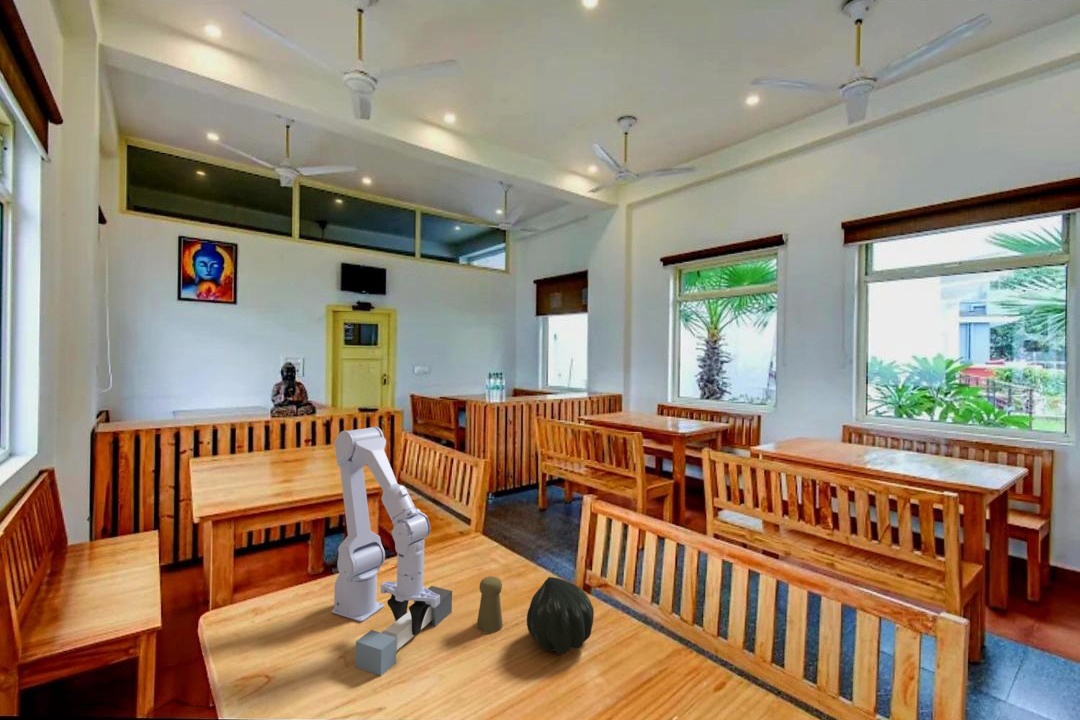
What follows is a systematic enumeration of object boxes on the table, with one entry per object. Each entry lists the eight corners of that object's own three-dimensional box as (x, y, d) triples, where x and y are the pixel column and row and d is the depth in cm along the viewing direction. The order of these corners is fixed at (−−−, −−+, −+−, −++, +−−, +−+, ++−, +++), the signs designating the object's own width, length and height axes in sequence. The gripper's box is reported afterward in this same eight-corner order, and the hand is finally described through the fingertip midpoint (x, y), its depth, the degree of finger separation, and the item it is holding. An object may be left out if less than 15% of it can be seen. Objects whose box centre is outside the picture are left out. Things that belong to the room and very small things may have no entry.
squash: (616, 628, 106) (585, 560, 114) (563, 656, 97) (532, 580, 105) (583, 646, 115) (556, 581, 123) (531, 672, 106) (505, 601, 114)
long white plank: (381, 648, 104) (381, 631, 104) (433, 605, 122) (434, 591, 122) (394, 652, 103) (395, 636, 103) (445, 608, 121) (446, 594, 120)
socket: (355, 666, 100) (355, 641, 99) (371, 654, 104) (371, 629, 104) (380, 676, 97) (381, 650, 97) (395, 662, 101) (396, 637, 101)
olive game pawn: (498, 634, 112) (499, 586, 112) (472, 630, 113) (474, 583, 113) (505, 620, 118) (507, 574, 118) (481, 616, 119) (482, 571, 119)
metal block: (413, 620, 117) (414, 598, 116) (431, 606, 123) (431, 585, 123) (434, 626, 114) (435, 604, 114) (451, 612, 121) (452, 591, 121)
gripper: (371, 570, 109) (370, 631, 109) (427, 585, 103) (425, 649, 104) (392, 558, 115) (391, 615, 116) (446, 571, 110) (444, 631, 110)
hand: (409, 630), depth 110 cm, fingers closed on long white plank, 3 cm apart
